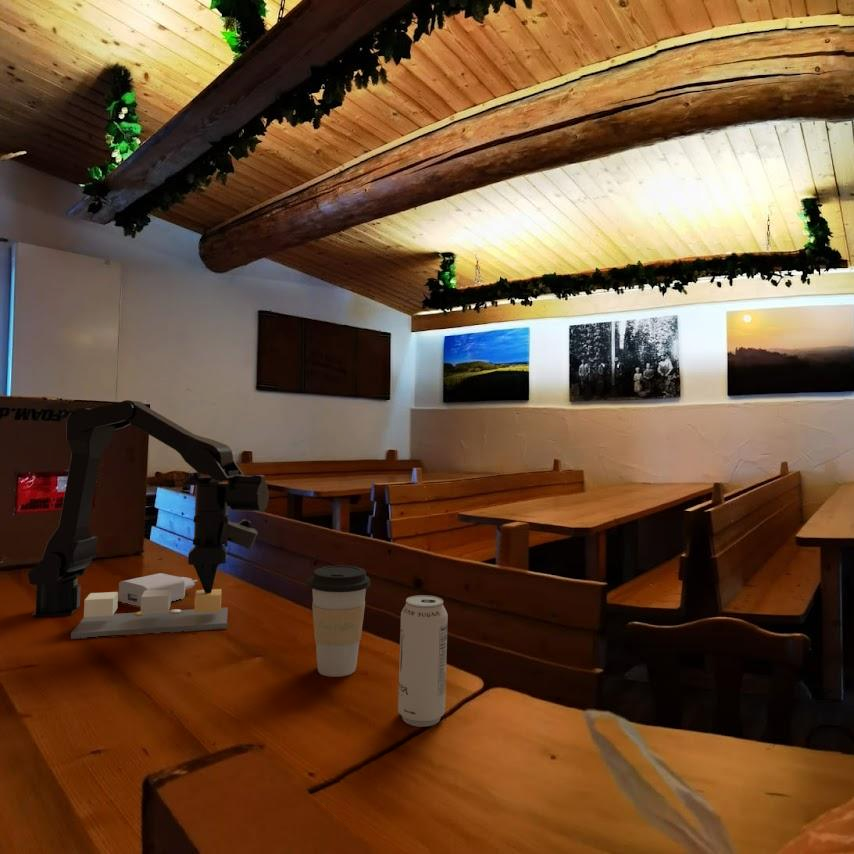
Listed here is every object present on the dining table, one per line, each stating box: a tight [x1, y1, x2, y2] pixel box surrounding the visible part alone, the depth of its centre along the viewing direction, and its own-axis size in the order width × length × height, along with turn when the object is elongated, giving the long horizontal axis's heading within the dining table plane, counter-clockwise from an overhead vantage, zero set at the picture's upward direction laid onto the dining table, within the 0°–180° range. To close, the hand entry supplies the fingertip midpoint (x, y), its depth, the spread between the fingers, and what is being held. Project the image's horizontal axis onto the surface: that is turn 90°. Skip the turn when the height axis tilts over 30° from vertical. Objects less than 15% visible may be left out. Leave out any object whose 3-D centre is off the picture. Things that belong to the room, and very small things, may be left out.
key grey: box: [140, 589, 172, 614], centre depth 109 cm, size 4×4×3 cm
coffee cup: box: [307, 565, 371, 678], centre depth 91 cm, size 9×9×15 cm
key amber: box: [193, 588, 222, 613], centre depth 112 cm, size 4×4×3 cm
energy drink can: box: [397, 594, 449, 728], centre depth 76 cm, size 6×6×15 cm
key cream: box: [83, 591, 119, 618], centre depth 106 cm, size 4×4×3 cm
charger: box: [118, 572, 198, 607], centre depth 127 cm, size 5×9×15 cm
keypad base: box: [70, 607, 229, 640], centre depth 109 cm, size 25×10×1 cm, turn 108°
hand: (208, 592), depth 112 cm, fingers closed, pressing on key amber
